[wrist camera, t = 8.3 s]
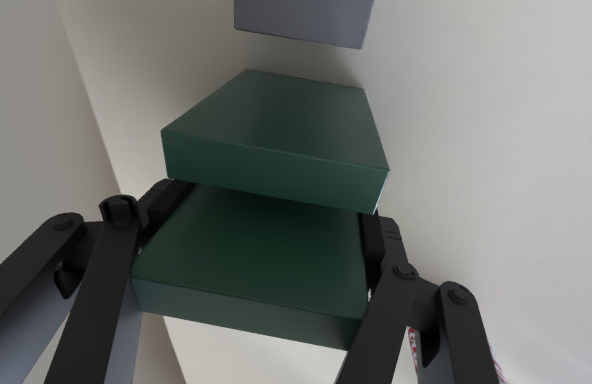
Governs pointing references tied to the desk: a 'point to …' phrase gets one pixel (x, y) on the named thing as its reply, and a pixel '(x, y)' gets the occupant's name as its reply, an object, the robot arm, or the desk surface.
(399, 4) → the desk surface
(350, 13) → the grey books
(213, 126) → the green books
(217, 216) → the green book
